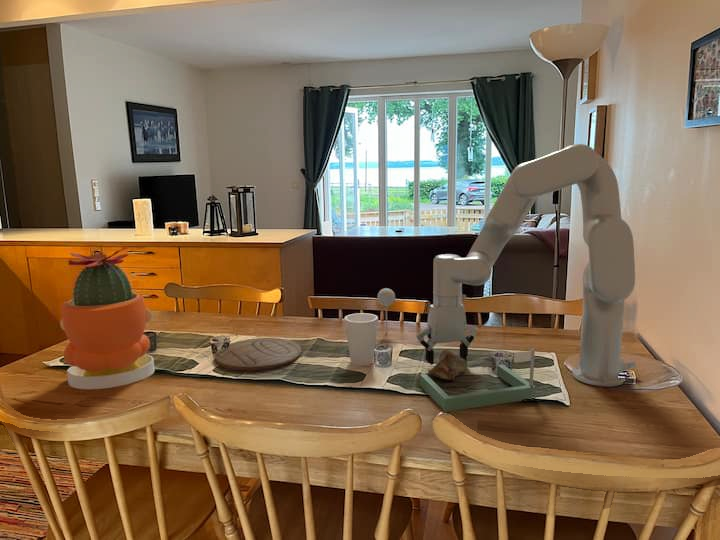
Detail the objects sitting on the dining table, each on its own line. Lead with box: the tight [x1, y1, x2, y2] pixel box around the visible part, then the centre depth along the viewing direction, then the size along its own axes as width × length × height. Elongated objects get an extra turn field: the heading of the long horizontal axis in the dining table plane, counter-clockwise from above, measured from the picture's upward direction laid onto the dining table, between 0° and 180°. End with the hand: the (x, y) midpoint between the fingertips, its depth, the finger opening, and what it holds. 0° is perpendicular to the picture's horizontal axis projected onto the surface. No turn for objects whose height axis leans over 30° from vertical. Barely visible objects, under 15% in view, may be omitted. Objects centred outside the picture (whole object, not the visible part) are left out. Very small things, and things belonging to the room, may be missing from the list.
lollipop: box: [376, 287, 396, 333], centre depth 180 cm, size 6×6×15 cm
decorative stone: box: [428, 348, 468, 381], centre depth 146 cm, size 10×4×15 cm
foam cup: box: [343, 312, 379, 367], centre depth 154 cm, size 10×9×13 cm
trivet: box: [214, 337, 302, 373], centre depth 162 cm, size 25×25×2 cm
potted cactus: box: [59, 246, 155, 390], centre depth 143 cm, size 22×22×35 cm
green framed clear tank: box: [419, 348, 537, 412], centre depth 132 cm, size 23×16×12 cm
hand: (446, 361), depth 150 cm, fingers open, 9 cm apart
